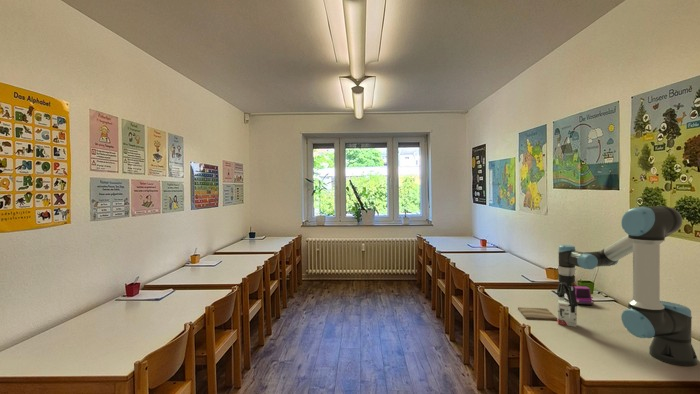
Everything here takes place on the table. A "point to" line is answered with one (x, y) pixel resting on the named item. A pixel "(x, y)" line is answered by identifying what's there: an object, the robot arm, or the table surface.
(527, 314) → the walnut board
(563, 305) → the ink box
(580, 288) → the toy truck
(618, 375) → the table surface
